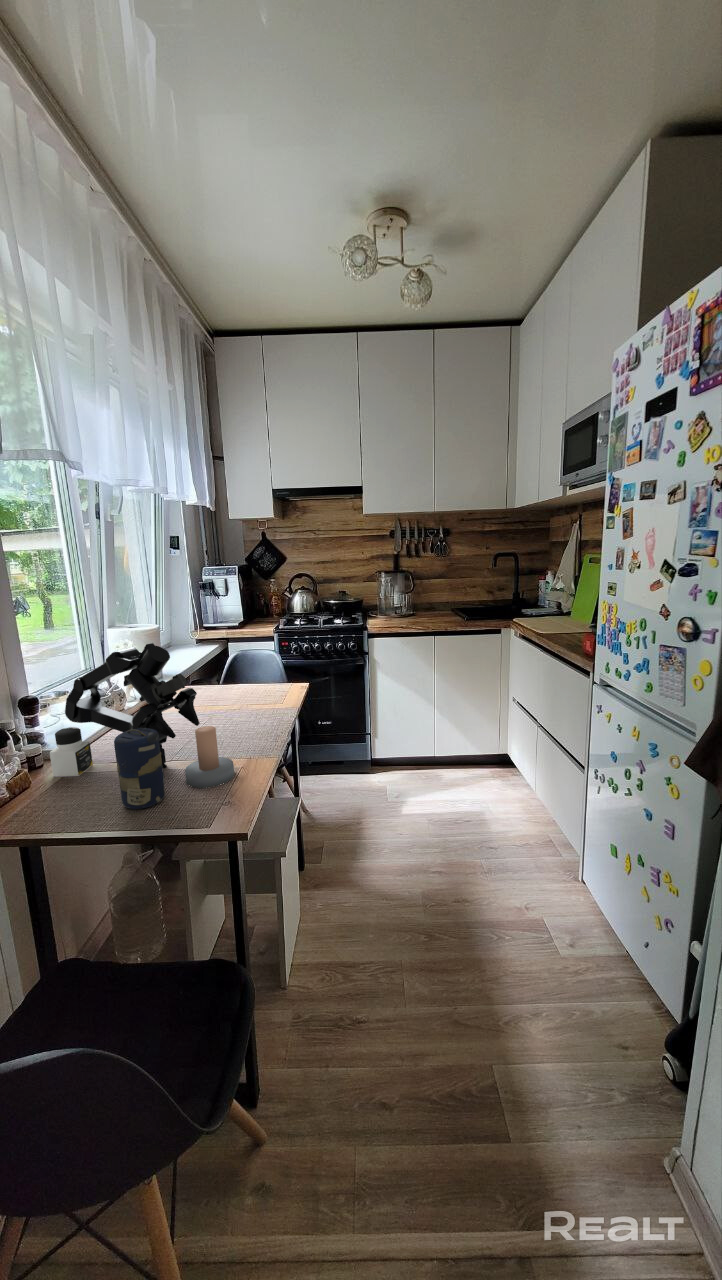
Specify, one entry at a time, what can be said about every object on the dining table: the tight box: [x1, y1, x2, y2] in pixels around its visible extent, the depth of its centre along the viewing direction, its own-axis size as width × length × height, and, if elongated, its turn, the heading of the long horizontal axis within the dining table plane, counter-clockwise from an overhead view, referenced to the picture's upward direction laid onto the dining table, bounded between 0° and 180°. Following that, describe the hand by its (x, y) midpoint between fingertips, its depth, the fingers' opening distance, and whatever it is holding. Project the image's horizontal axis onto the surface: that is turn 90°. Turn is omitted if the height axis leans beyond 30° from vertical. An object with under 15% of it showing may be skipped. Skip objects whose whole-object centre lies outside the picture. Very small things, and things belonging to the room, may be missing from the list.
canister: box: [113, 728, 166, 810], centre depth 119 cm, size 10×10×18 cm
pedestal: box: [184, 756, 235, 789], centre depth 132 cm, size 12×12×3 cm
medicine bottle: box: [49, 726, 94, 778], centre depth 138 cm, size 7×7×12 cm
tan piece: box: [194, 725, 220, 771], centre depth 130 cm, size 5×5×10 cm
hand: (186, 730), depth 132 cm, fingers open, 9 cm apart
